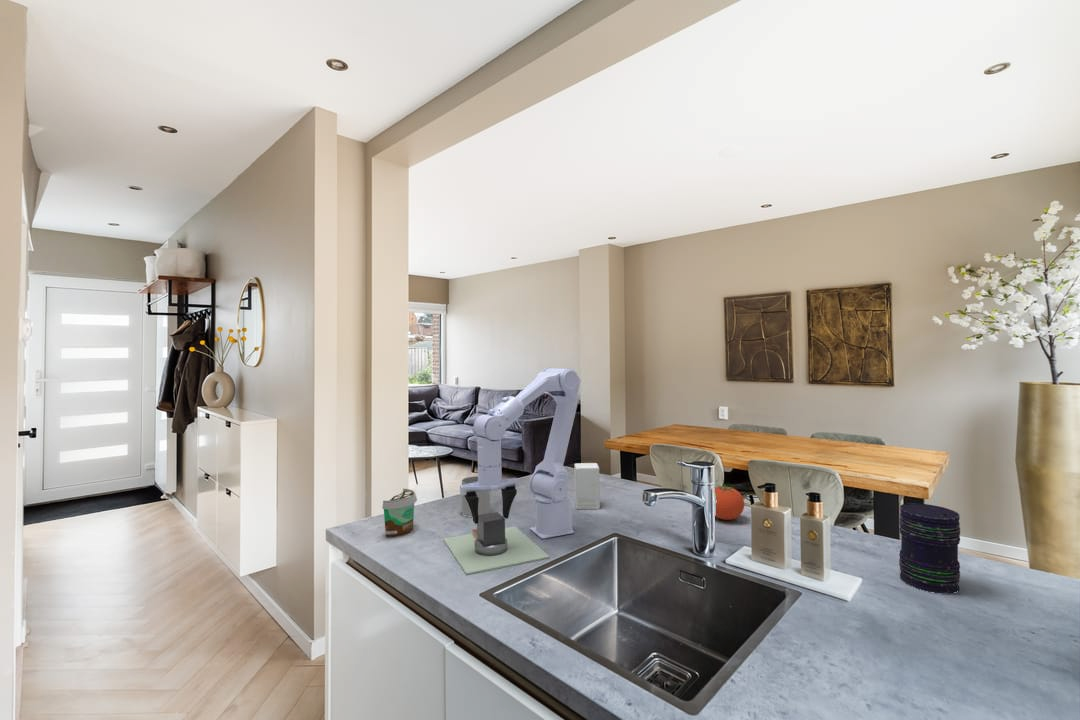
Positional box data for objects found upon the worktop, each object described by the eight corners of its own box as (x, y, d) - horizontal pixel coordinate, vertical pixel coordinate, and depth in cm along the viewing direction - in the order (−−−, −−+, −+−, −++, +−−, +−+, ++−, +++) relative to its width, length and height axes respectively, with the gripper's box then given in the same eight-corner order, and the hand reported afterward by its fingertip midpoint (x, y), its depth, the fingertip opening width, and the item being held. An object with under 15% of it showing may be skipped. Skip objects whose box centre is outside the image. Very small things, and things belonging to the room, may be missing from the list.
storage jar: (888, 577, 106) (888, 507, 105) (917, 568, 109) (917, 500, 109) (941, 598, 96) (942, 521, 96) (971, 588, 100) (971, 514, 100)
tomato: (750, 525, 137) (750, 489, 137) (712, 525, 137) (712, 489, 137) (736, 512, 147) (736, 479, 147) (701, 513, 147) (701, 479, 147)
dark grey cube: (498, 535, 126) (497, 512, 126) (505, 543, 121) (504, 518, 121) (477, 539, 124) (476, 515, 123) (483, 547, 119) (483, 522, 118)
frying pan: (512, 552, 120) (511, 527, 120) (480, 558, 117) (479, 533, 117) (491, 531, 134) (491, 508, 134) (462, 536, 131) (462, 513, 131)
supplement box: (600, 509, 152) (599, 468, 152) (575, 509, 152) (575, 468, 152) (597, 501, 160) (597, 462, 159) (574, 502, 160) (573, 462, 159)
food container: (404, 540, 130) (403, 502, 129) (383, 539, 131) (382, 501, 131) (424, 524, 142) (424, 488, 142) (404, 522, 143) (404, 488, 143)
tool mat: (515, 527, 138) (515, 526, 138) (549, 558, 118) (549, 556, 118) (443, 540, 130) (443, 538, 130) (466, 575, 109) (466, 573, 109)
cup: (475, 506, 157) (475, 474, 156) (495, 511, 152) (495, 478, 152) (456, 514, 150) (455, 481, 150) (476, 519, 145) (476, 485, 145)
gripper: (465, 471, 115) (466, 530, 116) (523, 464, 121) (524, 520, 121) (457, 465, 122) (458, 520, 122) (513, 458, 127) (514, 511, 128)
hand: (490, 519), depth 122 cm, fingers open, 7 cm apart
